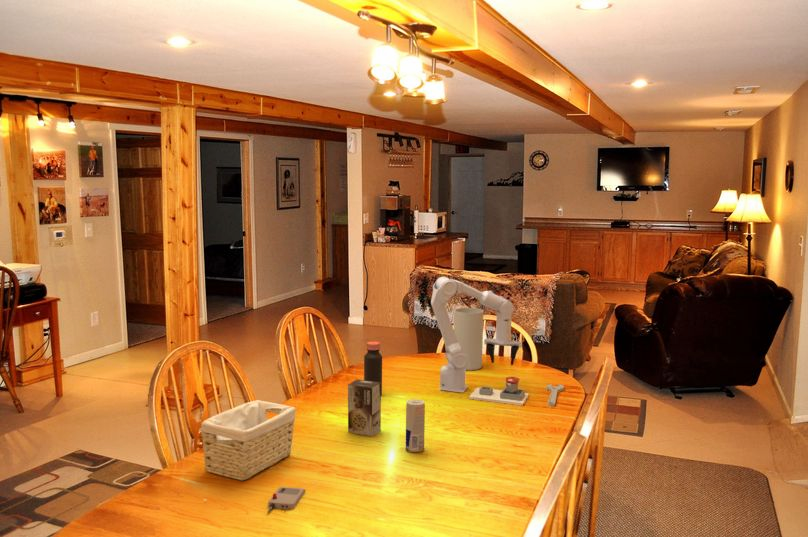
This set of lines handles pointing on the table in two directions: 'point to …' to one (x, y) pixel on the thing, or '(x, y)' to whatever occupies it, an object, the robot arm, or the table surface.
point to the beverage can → (415, 425)
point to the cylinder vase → (470, 335)
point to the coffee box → (364, 407)
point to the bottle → (373, 363)
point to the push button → (512, 385)
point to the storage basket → (247, 439)
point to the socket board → (499, 396)
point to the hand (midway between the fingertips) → (502, 363)
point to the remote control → (285, 498)
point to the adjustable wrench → (553, 393)
